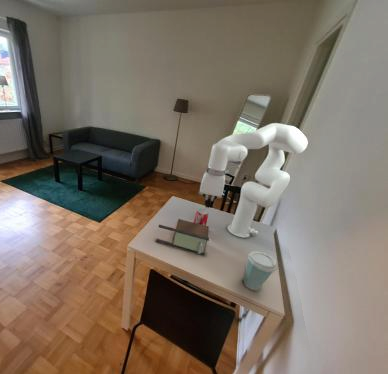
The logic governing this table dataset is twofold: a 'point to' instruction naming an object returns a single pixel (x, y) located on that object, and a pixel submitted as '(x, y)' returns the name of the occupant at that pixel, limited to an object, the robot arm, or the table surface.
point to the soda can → (201, 217)
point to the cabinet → (187, 233)
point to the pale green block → (189, 242)
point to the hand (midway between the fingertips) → (207, 206)
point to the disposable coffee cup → (258, 269)
